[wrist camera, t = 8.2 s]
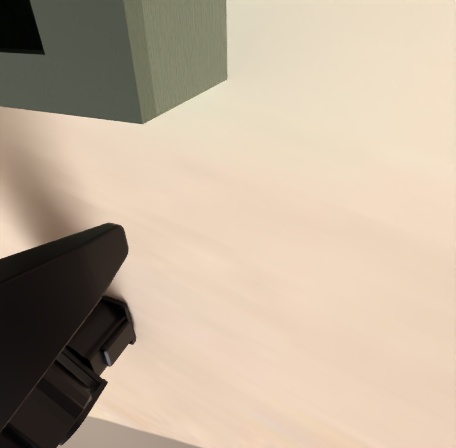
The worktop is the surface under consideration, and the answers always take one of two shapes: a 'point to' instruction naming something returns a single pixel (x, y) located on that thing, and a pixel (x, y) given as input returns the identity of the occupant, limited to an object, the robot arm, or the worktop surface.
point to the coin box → (110, 55)
